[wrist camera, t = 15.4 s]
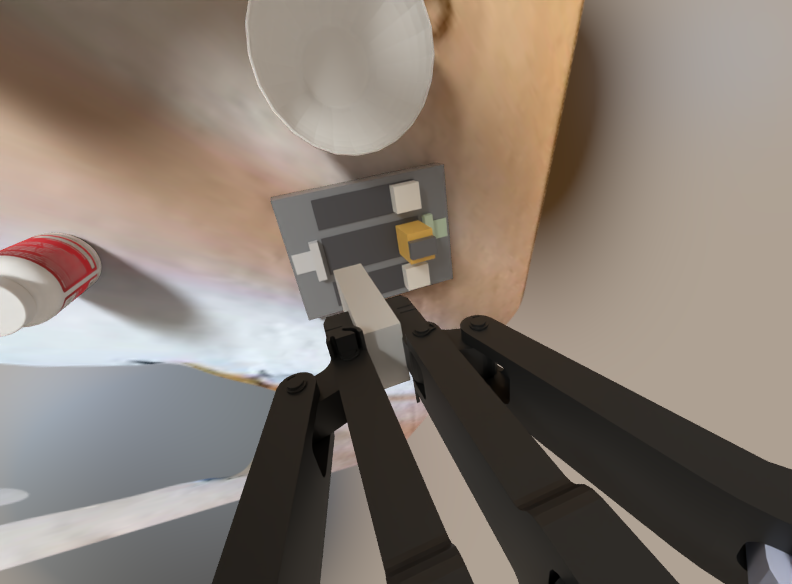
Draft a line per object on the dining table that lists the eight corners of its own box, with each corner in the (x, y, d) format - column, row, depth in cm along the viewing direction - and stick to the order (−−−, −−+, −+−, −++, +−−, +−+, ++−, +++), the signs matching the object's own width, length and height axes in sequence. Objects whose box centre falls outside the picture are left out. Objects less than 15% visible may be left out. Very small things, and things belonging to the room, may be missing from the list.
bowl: (424, 124, 39) (451, 122, 33) (296, 174, 37) (300, 181, 31) (381, -56, 31) (405, -102, 25) (215, -7, 29) (200, -43, 23)
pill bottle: (24, 223, 32) (-85, 261, 22) (105, 239, 34) (38, 279, 25) (25, 283, 34) (-74, 341, 24) (102, 294, 36) (39, 350, 26)
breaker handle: (399, 253, 42) (413, 267, 38) (395, 225, 40) (409, 236, 36) (421, 247, 42) (438, 260, 38) (418, 220, 41) (435, 230, 36)
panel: (307, 311, 44) (310, 327, 41) (270, 197, 37) (270, 203, 34) (445, 272, 48) (458, 283, 45) (435, 163, 41) (450, 165, 38)
